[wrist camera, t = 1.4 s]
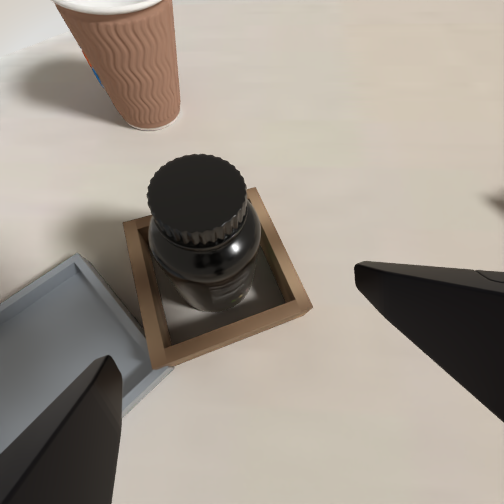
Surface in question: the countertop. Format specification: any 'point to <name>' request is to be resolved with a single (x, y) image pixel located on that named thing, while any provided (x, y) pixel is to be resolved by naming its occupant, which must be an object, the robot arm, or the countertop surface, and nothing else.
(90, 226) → the countertop surface
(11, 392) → the tray
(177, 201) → the supplement bottle
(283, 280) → the slot holder
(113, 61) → the coffee cup
